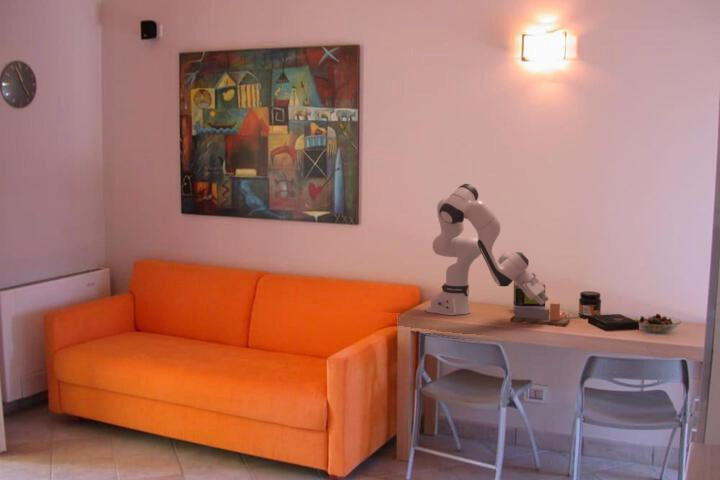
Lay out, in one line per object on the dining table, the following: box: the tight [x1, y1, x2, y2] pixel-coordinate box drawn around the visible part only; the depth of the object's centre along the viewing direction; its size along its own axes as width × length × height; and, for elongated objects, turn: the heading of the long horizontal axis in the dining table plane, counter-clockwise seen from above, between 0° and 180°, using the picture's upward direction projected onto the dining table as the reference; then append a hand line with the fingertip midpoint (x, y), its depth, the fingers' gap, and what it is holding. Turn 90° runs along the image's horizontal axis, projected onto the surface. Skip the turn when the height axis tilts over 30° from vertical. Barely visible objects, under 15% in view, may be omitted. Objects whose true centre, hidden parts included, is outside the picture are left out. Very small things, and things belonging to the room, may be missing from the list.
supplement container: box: [578, 290, 602, 320], centre depth 382 cm, size 10×10×12 cm
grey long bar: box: [514, 306, 550, 320], centre depth 374 cm, size 16×2×5 cm, turn 65°
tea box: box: [512, 281, 546, 311], centre depth 395 cm, size 15×10×15 cm, turn 84°
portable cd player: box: [587, 313, 640, 332], centre depth 364 cm, size 16×17×4 cm
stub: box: [549, 302, 561, 321], centre depth 369 cm, size 4×2×8 cm, turn 65°
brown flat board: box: [510, 314, 570, 327], centre depth 373 cm, size 26×10×2 cm, turn 65°
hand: (545, 302), depth 370 cm, fingers open, 8 cm apart
